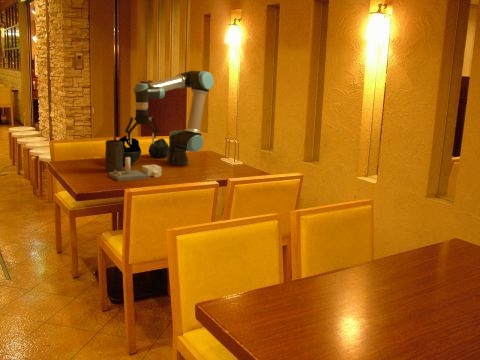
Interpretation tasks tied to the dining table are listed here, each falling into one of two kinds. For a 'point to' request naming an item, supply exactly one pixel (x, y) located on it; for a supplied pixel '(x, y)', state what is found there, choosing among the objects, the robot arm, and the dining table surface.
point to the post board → (129, 176)
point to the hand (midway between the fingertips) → (142, 143)
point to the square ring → (151, 170)
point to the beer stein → (114, 155)
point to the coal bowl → (131, 149)
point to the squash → (159, 149)
